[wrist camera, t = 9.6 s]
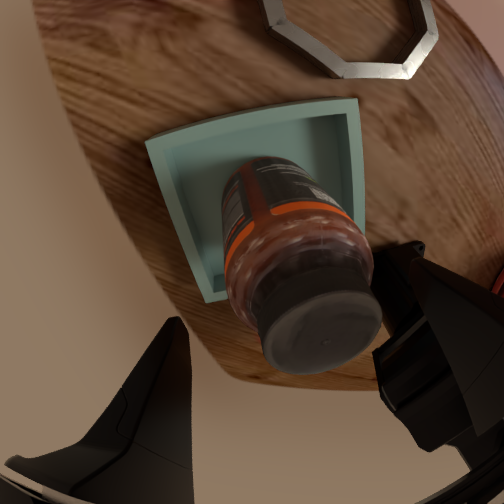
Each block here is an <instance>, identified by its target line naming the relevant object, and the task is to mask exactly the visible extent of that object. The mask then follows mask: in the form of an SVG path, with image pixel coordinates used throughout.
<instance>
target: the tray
mask: <svg viewBox="0 0 504 504" xmlns="http://www.w3.org/2000/svg"><path fill="white" fill-rule="evenodd" d="M145 144H146V147H147V150H148V154H149V157H150V160H151V163H152V166H153V169H154V172H155V175H156V177H157V180H158V183H159V186H160V189H161V192H162V195H163V197H164V200H165V203H166V206H167V208H168V211H169V214H170V216H171V219H172V222H173V224H174V227H175V230H176V232H177V235H178V237H179V240H180V242H181V245H182V247H183V250H184V252H185V255H186V257H187V260H188V262H189V265H190V267H191V270H192V272H193V274H194V277H195V279H196V281H197V284H198V286H199V289H200V291H201V293H202V295H203V298H204V300H205V302H206V303H210V302H215V301H220V300H225V299H228V295H227V292H226V285H225V272H224V254H223V236H222V213H221V202H222V195H223V191H224V188H225V185H226V183H227V182H228V180H229V178H230V177H231V175H232V174H233V173H234V172H235V171H236V170H237V169H238V168H239V167H241V166H242V165H244V164H245V163H247V162H249V161H251V160H254V159H257V158H260V157H266V156H272V157H274V156H275V157H280V158H285V159H288V160H290V161H292V162H294V163H296V164H297V165H299V166H300V167H301V168H303V169H304V170H305V171H306V172H307V173H308V174H309V175H310V176H311V177H312V178H313V179H314V180H315V181H316V182H317V183H318V184H319V185H320V186H321V187H322V188H323V189H324V190H325V191H326V192H327V193H328V194H329V195H330V196H331V198H332V199H334V200H335V202H336V203H337V204H338V205H339V206H340V207H341V208H342V209H343V210H344V211H345V212H346V214H348V215H349V217H350V218H351V219H352V221H353V222H354V223H355V224H356V225H357V226H358V227H359V229H360V230H361V231H362V233H363V234H364V236H365V186H364V163H363V148H362V136H361V125H360V116H359V108H358V100H357V98H349V97H328V98H318V99H309V100H301V101H294V102H287V103H280V104H274V105H268V106H263V107H257V108H252V109H247V110H243V111H238V112H233V113H229V114H225V115H221V116H217V117H213V118H209V119H205V120H201V121H198V122H194V123H190V124H187V125H184V126H180V127H177V128H174V129H171V130H167V131H164V132H161V133H158V134H155V135H154V136H152V137H151V138H149V139H148V140H146V141H145Z"/></svg>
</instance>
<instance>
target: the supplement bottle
mask: <svg viewBox="0 0 504 504" xmlns="http://www.w3.org/2000/svg"><path fill="white" fill-rule="evenodd" d="M221 213H222V236H223V254H224V272H225V285H226V292H227V295H228V300H229V302H230V305H231V307H232V309H233V310H234V312H235V314H236V315H237V317H238V318H239V319H240V320H241V321H242V322H243V323H244V324H245V325H246V326H247V327H249V328H251V329H252V330H254V331H256V332H258V334H259V336H260V339H261V345H262V350H263V354H264V356H265V358H266V360H267V361H268V362H269V364H270V365H272V366H273V367H275V368H276V369H277V370H280V371H282V372H286V373H290V374H299V375H306V374H316V373H320V372H324V371H328V370H331V369H334V368H336V367H339V366H341V365H343V364H345V363H346V362H348V361H350V360H352V359H353V358H355V357H356V356H358V355H359V354H360V353H361V352H363V351H364V350H365V349H366V348H367V347H368V346H369V345H370V343H371V342H372V341H373V340H374V338H375V336H376V335H377V333H378V331H379V329H380V328H381V322H382V310H381V307H380V305H379V302H378V300H377V299H376V298H375V296H374V294H373V293H372V291H371V289H370V285H371V280H372V274H373V268H374V265H373V256H372V252H371V248H370V246H369V243H368V241H367V239H366V237H365V236H364V234H363V233H362V231H361V230H360V229H359V227H358V226H357V225H356V224H355V223H354V222H353V221H352V219H351V218H350V217H349V215H348V214H346V212H345V211H344V210H343V209H342V208H341V207H340V206H339V205H338V204H337V203H336V202H335V200H334V199H332V198H331V196H330V195H329V194H328V193H327V192H326V191H325V190H324V189H323V188H322V187H321V186H320V185H319V184H318V183H317V182H316V181H315V180H314V179H313V178H312V177H311V176H310V175H309V174H308V173H307V172H306V171H305V170H304V169H303V168H301V167H300V166H299V165H297V164H296V163H294V162H292V161H290V160H288V159H285V158H280V157H275V156H274V157H272V156H266V157H260V158H257V159H254V160H251V161H249V162H247V163H245V164H244V165H242V166H241V167H239V168H238V169H237V170H236V171H235V172H234V173H233V174H232V175H231V177H230V178H229V180H228V182H227V183H226V185H225V188H224V191H223V195H222V202H221Z"/></svg>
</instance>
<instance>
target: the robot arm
mask: <svg viewBox="0 0 504 504" xmlns="http://www.w3.org/2000/svg"><path fill="white" fill-rule="evenodd" d="M419 247H420V248H419ZM424 251H425V244H424V243H423V242H422V241H418V242H415V243H411V244H408V245H404V246H400V247H397V248H393V249H389V250H385V251H382V252H378V253H374V254H372V256H373V265H374V268H373V274H372V280H371V285H370V289H371V291H372V293H373V294H374V296H375V298H376V299H377V300H378V302H379V305H380V307H381V310H382V322H383V324H384V326H385V328H386V330H387V331H388V333H389V335H390V338H389V339H388V340H387V341H386V342H385V343H384V344H382V345H381V346H380V347H379V348H376V349H375V350H374V351H373V352H372V355H373V360H374V366H375V371H376V376H377V381H378V387H379V393H380V397H381V399H382V401H383V402H384V403H385V405H386V406H387V408H388V409H389V410H390V411H391V412H392V413H393V414H394V415H395V416H396V417H397V418H398V419H399V420H400V421H401V422H402V423H403V424H404V425H405V426H406V427H407V429H408V430H409V431H410V433H411V435H412V436H413V438H414V440H415V441H416V443H417V445H418V447H420V448H421V449H423V450H425V451H427V452H432V451H434V450H435V449H437V448H439V447H440V446H442V445H448V446H452V447H455V448H456V449H457V450H458V452H459V453H460V455H461V456H462V458H463V460H464V461H465V463H466V464H467V466H468V467H469V469H470V472H469V473H467V474H466V475H464V476H463V477H461V478H460V479H458V480H457V481H455V482H453V483H452V484H450V485H448V486H447V487H445V488H443V489H442V490H440V491H438V492H436V493H434V494H433V495H431V496H429V497H427V498H425V499H423V500H421V501H419V502H417V503H415V504H504V298H503V297H501V296H499V295H497V294H495V293H494V292H492V291H489V290H488V289H486V288H484V287H482V286H480V285H478V284H476V283H474V282H472V281H470V280H468V279H466V278H464V277H462V276H460V275H458V274H456V273H454V272H452V271H450V270H448V269H446V268H444V267H442V266H440V265H437V264H435V263H433V262H431V261H429V260H427V259H425V258H423V256H424ZM191 396H192V366H191V356H190V344H189V333H188V331H187V328H186V327H185V325H184V323H183V321H182V320H181V318H180V317H179V316H176V317H170V318H168V319H167V320H166V322H165V324H164V325H163V326H162V328H161V329H160V331H159V332H158V333H157V335H156V336H155V338H154V339H153V341H152V342H151V344H150V345H149V346H148V348H147V349H146V351H145V352H144V354H143V355H142V357H141V358H140V360H139V361H138V363H137V364H136V366H135V367H134V369H133V370H132V371H131V373H130V374H129V376H128V377H127V379H126V381H125V382H124V384H123V385H122V388H120V389H119V391H118V392H117V394H116V395H115V397H114V398H113V400H112V401H111V403H110V404H109V405H108V407H107V408H106V409H105V411H104V412H103V413H102V415H101V416H100V417H99V418H98V420H97V421H96V422H95V423H94V425H93V426H92V427H91V428H90V430H89V431H88V432H87V434H86V435H85V436H84V437H83V438H82V439H81V440H80V441H79V442H77V443H75V444H74V445H71V446H69V447H66V448H63V449H60V450H58V451H54V452H51V453H48V454H45V455H42V456H39V457H35V458H24V457H22V456H19V455H15V456H12V457H11V458H9V459H8V460H7V461H6V462H5V464H4V465H5V466H7V467H8V468H10V469H12V470H14V471H15V472H18V473H19V474H21V475H23V476H25V477H27V478H29V479H31V480H33V481H35V482H37V483H39V484H41V485H43V486H42V492H39V491H37V490H34V489H32V488H29V487H27V486H25V485H23V484H21V483H18V482H16V481H14V480H12V479H10V478H8V477H6V476H4V475H2V474H0V504H194V489H193V471H192V432H191V431H192V429H191V400H192V399H191V398H192V397H191Z"/></svg>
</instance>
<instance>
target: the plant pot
mask: <svg viewBox="0 0 504 504" xmlns="http://www.w3.org/2000/svg"><path fill="white" fill-rule="evenodd" d="M492 292H494V293H495V294H497V295H499V296H501V297H503V298H504V269H503V270H502V272H501V273H500V275H499V276H498V278H497V280H496V282H495V284H494V286H493V289H492Z"/></svg>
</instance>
